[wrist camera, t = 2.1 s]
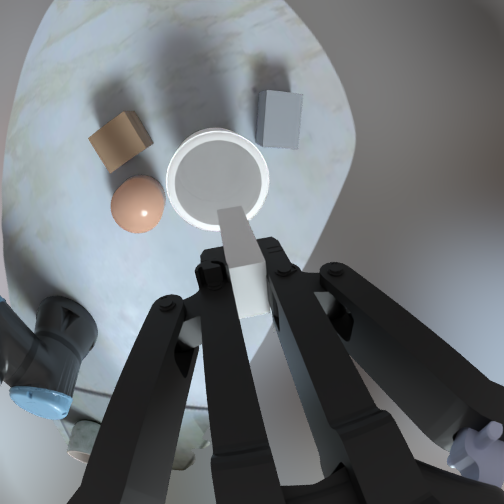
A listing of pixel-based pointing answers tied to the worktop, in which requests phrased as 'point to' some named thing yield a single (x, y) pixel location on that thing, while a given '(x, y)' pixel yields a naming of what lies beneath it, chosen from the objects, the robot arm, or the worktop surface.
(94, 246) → the worktop surface
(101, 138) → the walnut block
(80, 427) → the planter
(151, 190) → the glossy peach dome
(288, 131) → the slate block
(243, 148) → the jar
